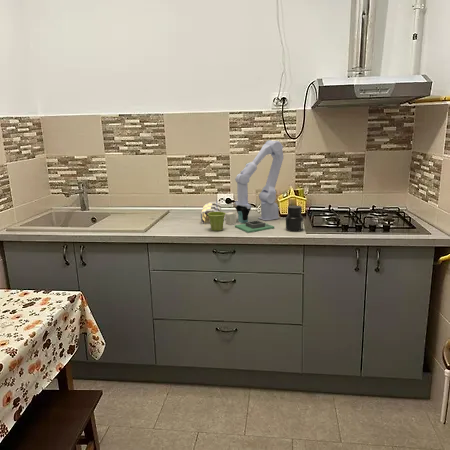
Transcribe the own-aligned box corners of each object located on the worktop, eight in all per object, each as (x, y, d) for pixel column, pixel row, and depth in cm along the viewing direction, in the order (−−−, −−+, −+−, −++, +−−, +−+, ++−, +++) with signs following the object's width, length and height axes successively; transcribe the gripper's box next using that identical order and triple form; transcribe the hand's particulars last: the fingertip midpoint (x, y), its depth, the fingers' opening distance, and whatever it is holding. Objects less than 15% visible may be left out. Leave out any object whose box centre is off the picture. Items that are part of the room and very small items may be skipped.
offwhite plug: (230, 222, 239) (230, 212, 238) (235, 223, 236) (235, 213, 235) (224, 224, 236) (224, 213, 235) (229, 225, 233) (229, 214, 232)
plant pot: (229, 229, 224) (229, 213, 222) (216, 232, 218) (215, 216, 216) (218, 226, 231) (217, 210, 229) (204, 229, 225) (203, 213, 223)
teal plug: (244, 220, 242) (244, 210, 241) (248, 221, 239) (247, 211, 238) (237, 221, 240) (237, 211, 239) (241, 223, 237) (240, 212, 236)
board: (259, 223, 236) (259, 217, 235) (274, 228, 224) (274, 222, 223) (234, 227, 228) (234, 221, 228) (248, 232, 216) (248, 227, 216)
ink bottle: (306, 231, 217) (307, 207, 214) (290, 232, 214) (290, 209, 211) (298, 226, 226) (298, 204, 223) (282, 228, 223) (282, 205, 220)
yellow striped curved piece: (219, 224, 237) (218, 201, 234) (201, 224, 238) (200, 201, 235) (221, 214, 262) (220, 193, 258) (204, 214, 262) (203, 193, 259)
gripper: (229, 194, 241) (230, 217, 244) (243, 198, 228) (243, 222, 231) (240, 192, 244) (241, 216, 247) (254, 196, 231) (254, 221, 235)
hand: (243, 219), depth 239 cm, fingers closed on teal plug, 4 cm apart
